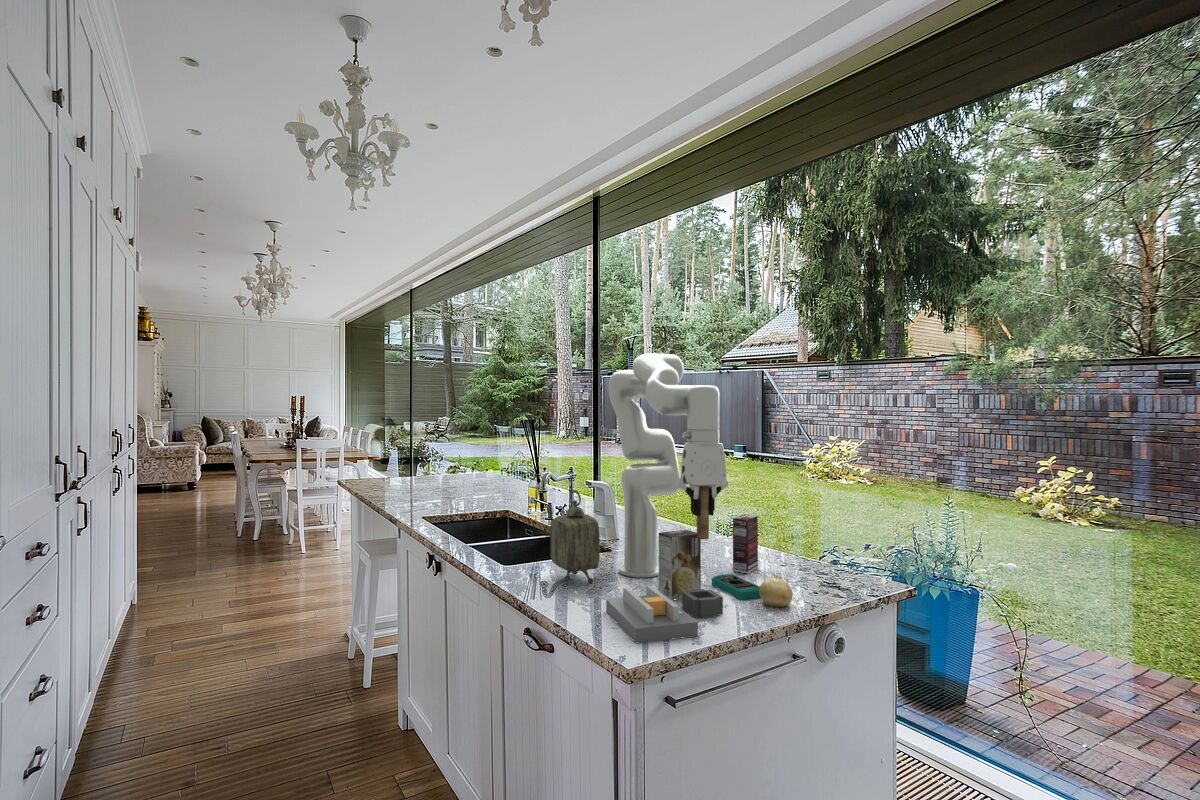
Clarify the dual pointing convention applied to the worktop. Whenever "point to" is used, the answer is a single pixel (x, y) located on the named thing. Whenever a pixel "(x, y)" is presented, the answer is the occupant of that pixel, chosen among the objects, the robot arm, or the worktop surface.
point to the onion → (776, 592)
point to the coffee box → (679, 563)
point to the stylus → (703, 513)
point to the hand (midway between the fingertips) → (702, 514)
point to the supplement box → (745, 543)
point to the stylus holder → (702, 603)
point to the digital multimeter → (736, 586)
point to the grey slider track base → (650, 617)
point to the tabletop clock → (575, 541)
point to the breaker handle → (656, 605)
